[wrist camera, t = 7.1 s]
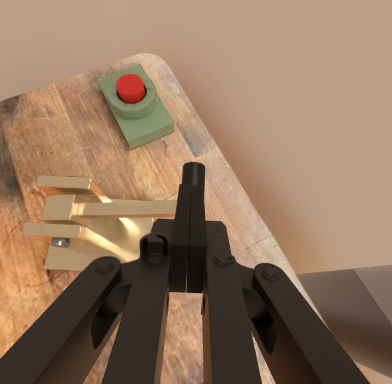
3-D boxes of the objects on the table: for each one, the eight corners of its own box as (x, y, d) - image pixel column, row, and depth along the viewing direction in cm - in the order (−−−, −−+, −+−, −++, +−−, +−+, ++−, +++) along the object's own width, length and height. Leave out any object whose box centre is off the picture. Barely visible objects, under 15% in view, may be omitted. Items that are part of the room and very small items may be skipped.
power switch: (156, 203, 34) (140, 159, 22) (149, 274, 31) (126, 267, 19) (65, 198, 33) (-1, 150, 21) (49, 269, 30) (-41, 259, 18)
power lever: (207, 172, 21) (201, 159, 19) (205, 257, 19) (198, 253, 17) (72, 180, 24) (53, 169, 22) (54, 254, 22) (32, 250, 20)
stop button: (149, 98, 35) (147, 89, 34) (125, 107, 34) (122, 98, 33) (139, 79, 36) (136, 70, 35) (115, 88, 36) (112, 79, 34)
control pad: (174, 131, 38) (173, 114, 34) (130, 149, 36) (124, 134, 33) (142, 75, 41) (138, 54, 37) (101, 89, 40) (92, 69, 36)
